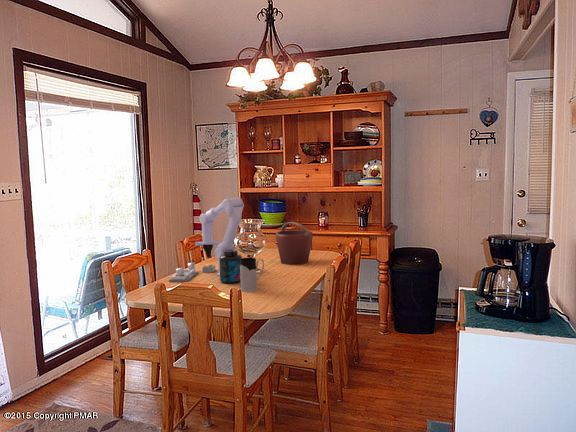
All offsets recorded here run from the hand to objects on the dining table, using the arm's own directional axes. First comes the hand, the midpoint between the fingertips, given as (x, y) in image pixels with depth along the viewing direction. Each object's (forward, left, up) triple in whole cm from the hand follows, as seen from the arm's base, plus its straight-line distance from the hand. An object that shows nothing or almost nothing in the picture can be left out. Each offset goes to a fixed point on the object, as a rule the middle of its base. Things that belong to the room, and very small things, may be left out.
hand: (208, 257), depth 267 cm
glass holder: (-50, -2, -8) cm, 51 cm away
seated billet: (-10, +21, -7) cm, 24 cm away
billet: (+6, +9, -8) cm, 13 cm away
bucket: (-10, -52, -8) cm, 53 cm away
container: (-30, 0, -8) cm, 31 cm away
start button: (0, 0, -9) cm, 9 cm away
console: (0, 0, -8) cm, 8 cm away
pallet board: (-5, +17, -8) cm, 20 cm away
